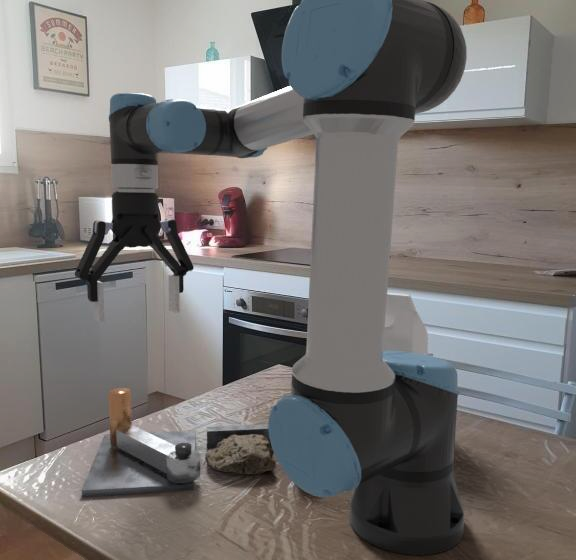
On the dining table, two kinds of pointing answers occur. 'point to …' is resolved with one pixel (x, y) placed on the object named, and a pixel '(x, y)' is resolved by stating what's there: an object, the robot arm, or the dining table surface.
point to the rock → (242, 454)
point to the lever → (147, 442)
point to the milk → (404, 326)
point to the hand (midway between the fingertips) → (138, 315)
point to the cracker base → (142, 476)
